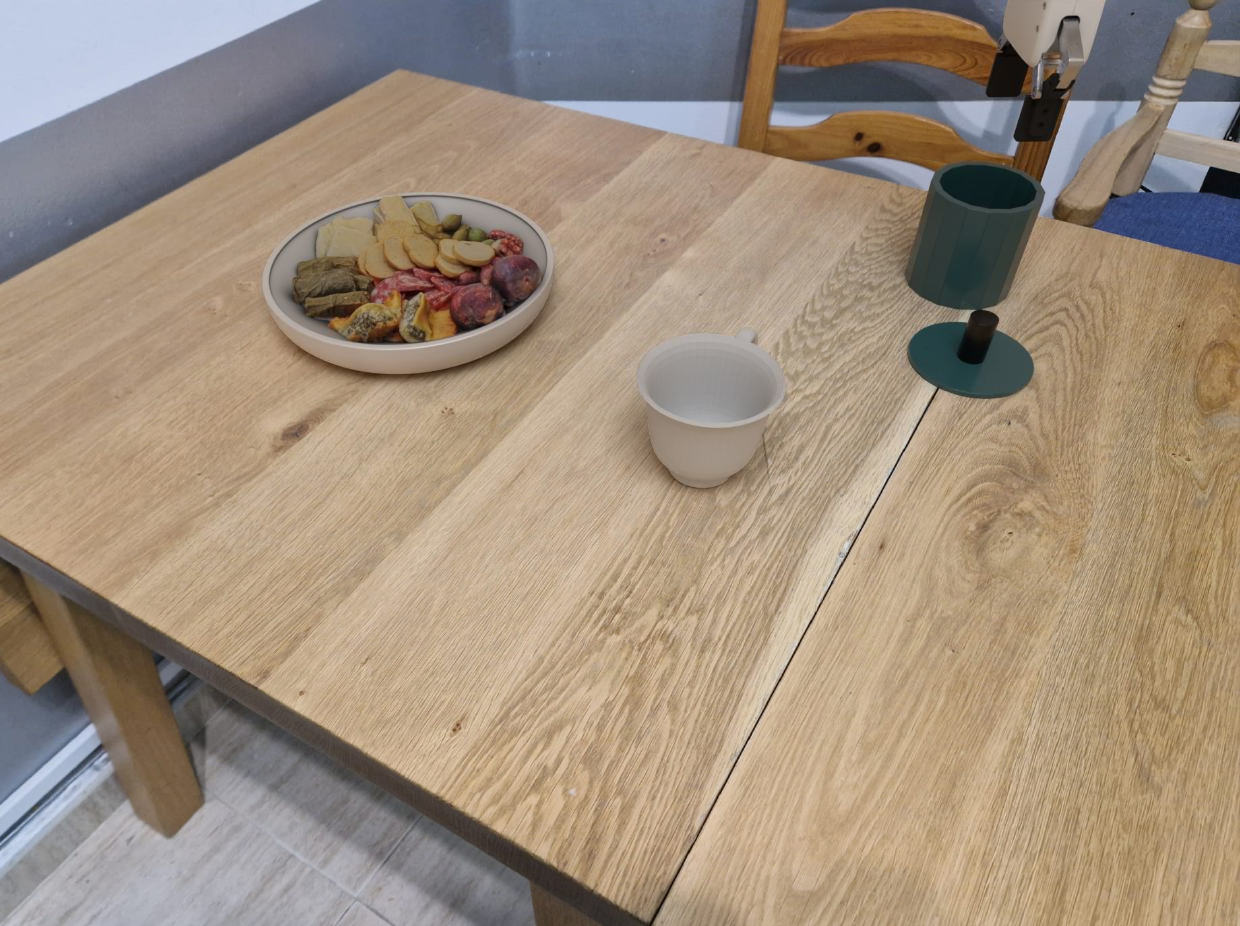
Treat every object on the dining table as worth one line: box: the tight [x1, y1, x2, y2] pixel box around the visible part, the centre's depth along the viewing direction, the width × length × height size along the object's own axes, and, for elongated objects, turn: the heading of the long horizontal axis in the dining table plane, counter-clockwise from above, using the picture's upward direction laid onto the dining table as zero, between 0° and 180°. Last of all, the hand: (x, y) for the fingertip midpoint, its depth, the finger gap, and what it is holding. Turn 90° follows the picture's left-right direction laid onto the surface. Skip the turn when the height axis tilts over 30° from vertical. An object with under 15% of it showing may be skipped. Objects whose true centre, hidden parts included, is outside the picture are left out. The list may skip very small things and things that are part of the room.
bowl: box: [261, 191, 555, 375], centre depth 98 cm, size 30×30×8 cm
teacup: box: [635, 326, 787, 489], centre depth 80 cm, size 12×15×10 cm
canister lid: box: [907, 309, 1035, 399], centre depth 90 cm, size 12×12×6 cm
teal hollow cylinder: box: [904, 160, 1046, 311], centre depth 97 cm, size 11×11×12 cm
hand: (1015, 117), depth 88 cm, fingers open, 9 cm apart
